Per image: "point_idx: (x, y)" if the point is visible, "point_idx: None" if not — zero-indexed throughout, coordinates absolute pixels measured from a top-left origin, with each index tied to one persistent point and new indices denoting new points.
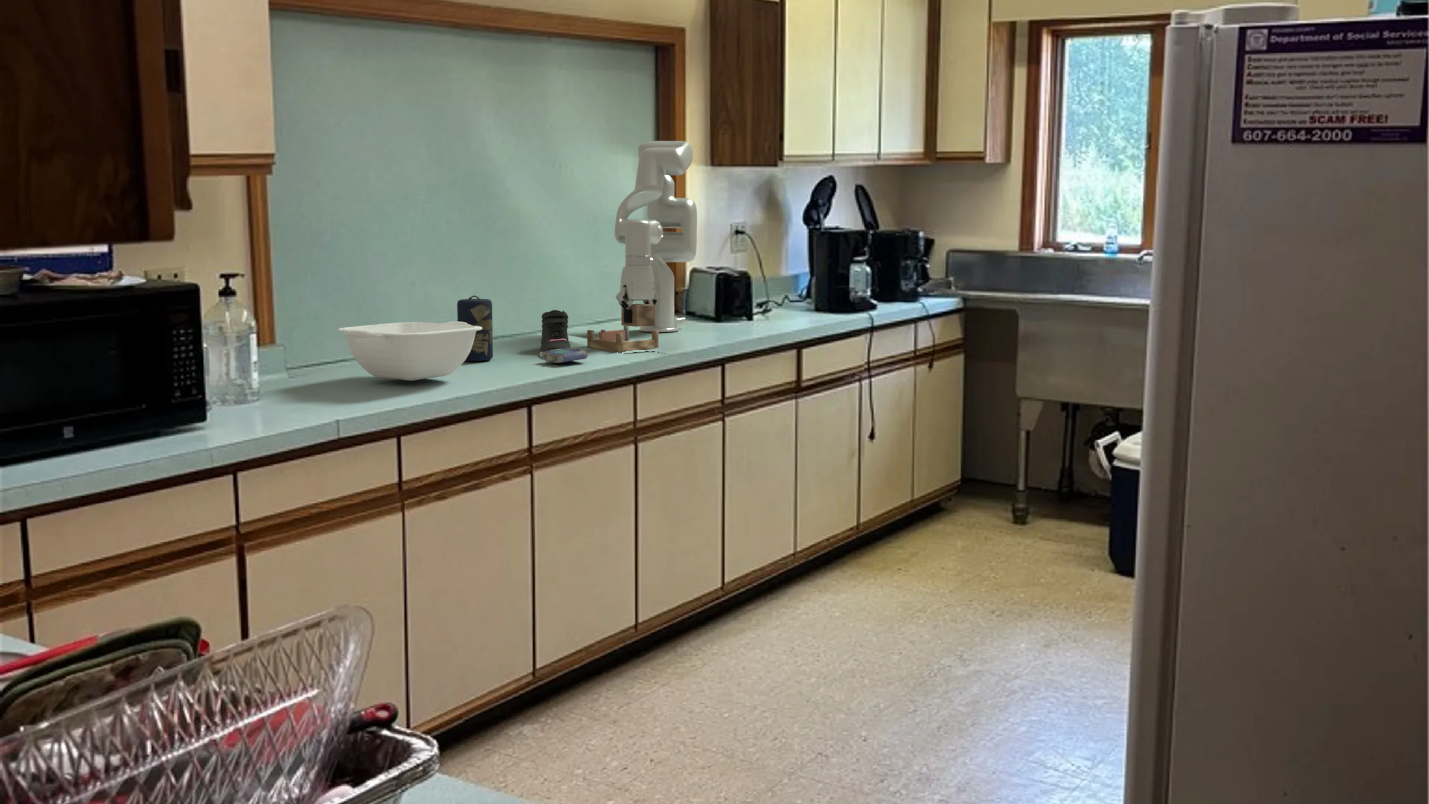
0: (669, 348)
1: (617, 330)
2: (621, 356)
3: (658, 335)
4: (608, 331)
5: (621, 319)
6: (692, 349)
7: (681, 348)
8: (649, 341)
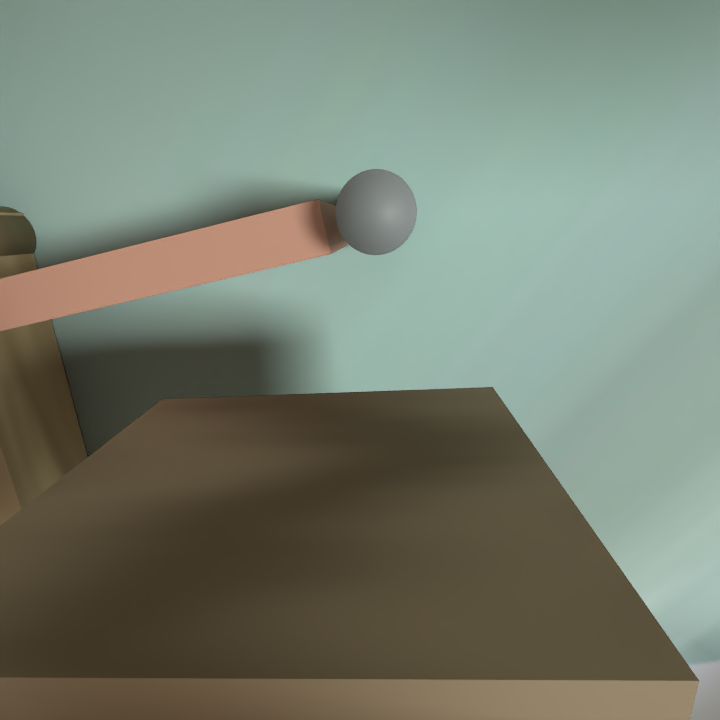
0: (596, 477)
1: (193, 278)
2: None
3: None
4: (39, 320)
5: (114, 436)
6: (655, 608)
7: (658, 526)
8: None
